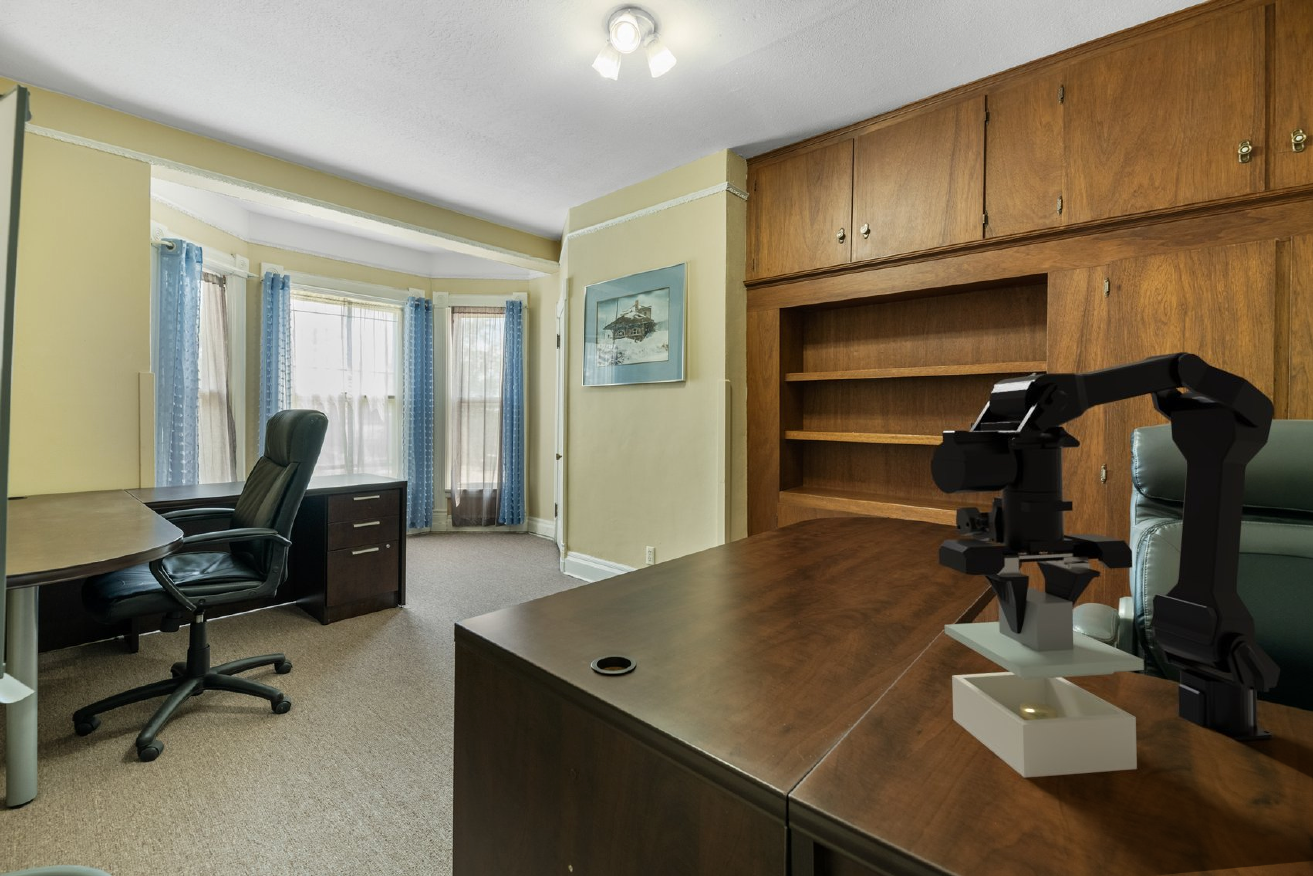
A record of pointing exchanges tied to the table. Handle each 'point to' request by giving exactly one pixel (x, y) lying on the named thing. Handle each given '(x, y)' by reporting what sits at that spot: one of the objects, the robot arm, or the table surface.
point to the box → (1045, 725)
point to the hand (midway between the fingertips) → (1034, 631)
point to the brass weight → (1037, 711)
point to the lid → (1043, 643)
